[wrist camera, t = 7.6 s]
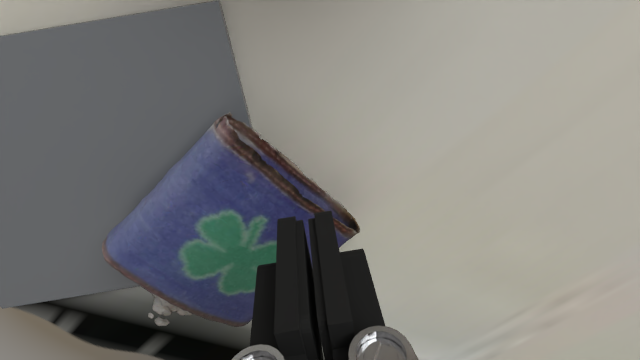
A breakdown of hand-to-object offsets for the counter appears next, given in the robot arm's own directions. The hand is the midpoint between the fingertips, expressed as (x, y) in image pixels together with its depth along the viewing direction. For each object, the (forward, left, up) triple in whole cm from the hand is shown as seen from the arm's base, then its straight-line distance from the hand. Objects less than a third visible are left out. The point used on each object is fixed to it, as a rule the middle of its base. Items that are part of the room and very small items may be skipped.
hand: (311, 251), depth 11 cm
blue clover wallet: (0, +1, -6) cm, 6 cm away
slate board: (+11, 0, -8) cm, 13 cm away
